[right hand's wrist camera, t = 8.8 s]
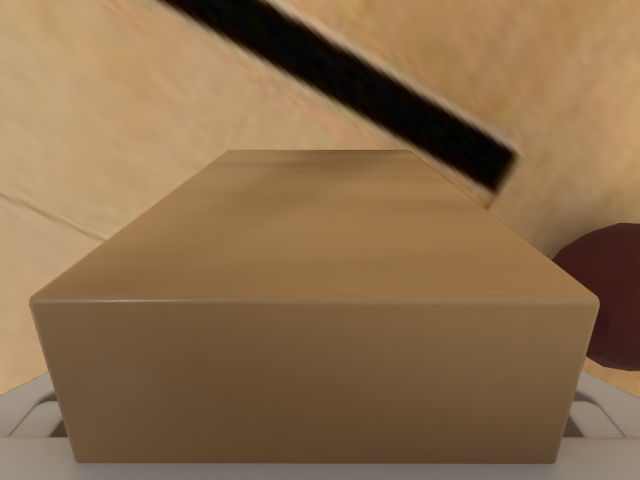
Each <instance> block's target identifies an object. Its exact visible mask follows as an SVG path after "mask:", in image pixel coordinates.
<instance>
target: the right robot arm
mask: <svg viewBox="0 0 640 480" xmlns="http://www.w3.org/2000/svg"><path fill="white" fill-rule="evenodd" d="M0 480H640V398H638V397H636V396H634V395H632V394H630V393H628V392H626V391H624V390H622V389H620V388H618V387H616V386H614V385H612V384H610V383H608V382H606V381H604V380H602V379H600V378H598V377H596V376H593V375H591V374H589V373H587V372H585V371H583V370H581V374H580V377H579V381H578V384H577V388H576V391H575V395H574V398H573V402H572V405H571V409H570V412H569V416H568V420H567V423H566V427H565V430H564V434H563V437H562V441H561V444H560V448H559V451H558V455H557V458H556V462H555V463H552V464H269V463H78V462H75V459H74V455H73V452H72V449H71V445H70V442H69V438H68V435H67V432H66V428H65V425H64V422H63V418H62V415H61V411H60V408H59V405H58V401H57V398H56V394H55V391H54V388H53V384H52V381H51V377H50V374H49V372H47V373H45V374H43V375H41V376H39V377H37V378H35V379H33V380H31V381H29V382H27V383H25V384H22V385H20V386H18V387H16V388H14V389H12V390H10V391H8V392H6V393H4V394H2V395H0Z"/></svg>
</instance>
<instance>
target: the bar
mask: <svg viewBox="0 0 640 480" xmlns="http://www.w3.org/2000/svg"><path fill="white" fill-rule="evenodd" d="M29 306H30V310H31V313H32V316H33V320H34V323H35V327H36V330H37V333H38V337H39V340H40V344H41V347H42V350H43V354H44V357H45V360H46V364H47V367H48V371H49V374H50V377H51V381H52V384H53V388H54V391H55V394H56V398H57V401H58V405H59V408H60V411H61V415H62V418H63V422H64V425H65V428H66V432H67V435H68V438H69V442H70V445H71V449H72V452H73V455H74V459H75V462H78V463H269V464H552V463H555V462H556V458H557V455H558V451H559V448H560V444H561V441H562V437H563V434H564V430H565V427H566V423H567V420H568V416H569V412H570V409H571V405H572V402H573V398H574V395H575V391H576V388H577V384H578V381H579V377H580V374H581V370H582V367H583V363H584V359H585V356H586V352H587V349H588V345H589V342H590V338H591V335H592V331H593V328H594V324H595V321H596V317H597V314H598V310H599V307H600V302H599V299H598V297H597V296H596V295H595V294H593V293H592V292H591V291H590V290H588V289H587V288H586V287H584V286H583V285H582V284H581V283H579V282H578V281H577V280H575V279H574V278H573V277H572V276H570V275H569V274H568V273H566V272H565V271H564V270H563V269H561V268H560V267H559V266H558V265H556V264H555V263H554V262H552V261H551V260H550V259H549V258H547V257H546V256H545V255H543V254H542V253H541V252H540V251H538V250H537V249H536V248H534V247H533V246H532V245H531V244H529V243H528V242H527V241H525V240H524V239H523V238H522V237H520V236H519V235H518V234H516V233H515V232H514V231H513V230H511V229H510V228H509V227H507V226H506V225H505V224H504V223H502V222H501V221H500V220H498V219H497V218H496V217H495V216H493V215H492V214H491V213H489V212H488V211H487V210H486V209H484V208H483V207H482V206H480V205H479V204H478V203H477V202H475V201H474V200H473V199H471V198H470V197H469V196H468V195H466V194H465V193H464V192H463V191H461V190H460V189H459V188H457V187H456V186H455V185H454V184H452V183H451V182H450V181H448V180H447V179H446V178H445V177H443V176H442V175H441V174H439V173H438V172H437V171H436V170H434V169H433V168H432V167H430V166H429V165H428V164H427V163H425V162H424V161H423V160H421V159H420V158H419V157H418V156H416V155H415V154H414V153H412V152H411V151H409V150H228V151H226V152H225V153H224V154H222V155H221V156H220V157H218V158H217V159H216V160H214V161H213V162H212V163H210V164H209V165H208V166H206V167H205V168H203V169H202V170H201V171H199V172H198V173H197V174H195V175H194V176H193V177H191V178H190V179H189V180H187V181H186V182H185V183H183V184H182V185H181V186H179V187H178V188H177V189H175V190H174V191H172V192H171V193H170V194H168V195H167V196H166V197H164V198H163V199H162V200H160V201H159V202H158V203H156V204H155V205H154V206H152V207H151V208H150V209H148V210H147V211H146V212H144V213H143V214H142V215H140V216H139V217H137V218H136V219H135V220H133V221H132V222H131V223H129V224H128V225H127V226H125V227H124V228H123V229H121V230H120V231H119V232H117V233H116V234H115V235H113V236H112V237H111V238H109V239H108V240H106V241H105V242H104V243H102V244H101V245H100V246H98V247H97V248H96V249H94V250H93V251H92V252H90V253H89V254H88V255H86V256H85V257H84V258H82V259H81V260H80V261H78V262H77V263H76V264H74V265H73V266H71V267H70V268H69V269H67V270H66V271H65V272H63V273H62V274H61V275H59V276H58V277H57V278H55V279H54V280H53V281H51V282H50V283H49V284H47V285H46V286H45V287H43V288H42V289H40V290H39V291H38V292H36V293H35V294H34V295H32V296H31V298H30V301H29Z"/></svg>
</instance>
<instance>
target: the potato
mask: <svg viewBox="0 0 640 480" xmlns="http://www.w3.org/2000/svg"><path fill="white" fill-rule="evenodd" d="M552 262H554V263H555V264H556V265H558V266H559V267H560V268H561V269H563V270H564V271H565V272H566V273H568V274H569V275H570V276H572V277H573V278H574V279H575V280H577V281H578V282H579V283H581V284H582V285H583V286H584V287H586V288H587V289H588V290H590V291H591V292H592V293H593V294H595V295H596V296H597V297H598V299H599V302H600V307H599V310H598V314H597V317H596V321H595V324H594V328H593V331H592V335H591V338H590V342H589V345H588V349H587V352H586V357H588V358H590V359H591V360H593V361H595V362H596V363H598V364H600V365H601V366H603V367H608V368H614V369H620V370H626V371H640V224H631V223H619V224H615V225H612V226H609V227H605V228H602V229H599V230H596V231H592V232H590V233H588V234H585V235H583V236H582V237H580V238H579V239H577V240H575V241H574V242H572V243H570V244H569V245H567V246H566V247H564V248H562V249H561V250H560V252H559V253H558V254H557V255H556V256H555V257H554V258H553V259H552Z"/></svg>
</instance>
